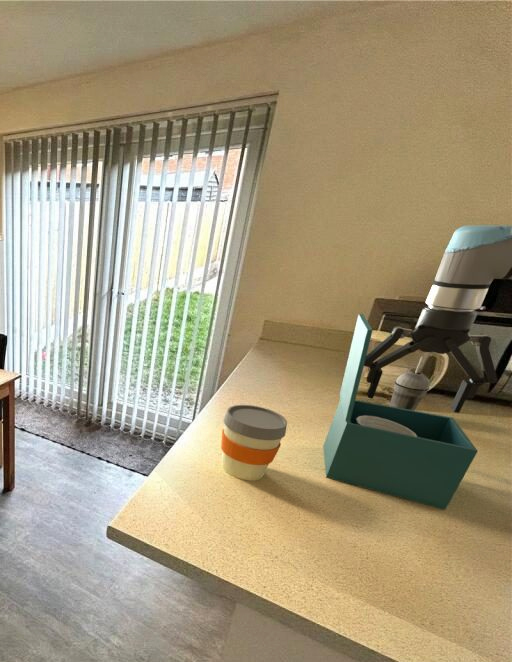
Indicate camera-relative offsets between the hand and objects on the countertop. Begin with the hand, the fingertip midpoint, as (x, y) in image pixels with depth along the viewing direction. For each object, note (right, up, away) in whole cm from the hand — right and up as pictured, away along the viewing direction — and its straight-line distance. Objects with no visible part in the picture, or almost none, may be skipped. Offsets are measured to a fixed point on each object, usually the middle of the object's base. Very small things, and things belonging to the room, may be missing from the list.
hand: (410, 403), depth 87 cm
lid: (-9, +8, +3) cm, 13 cm away
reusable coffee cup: (-31, -17, +11) cm, 37 cm away
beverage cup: (+29, -7, +32) cm, 44 cm away
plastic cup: (-1, -17, +9) cm, 19 cm away
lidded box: (0, -18, +8) cm, 19 cm away
